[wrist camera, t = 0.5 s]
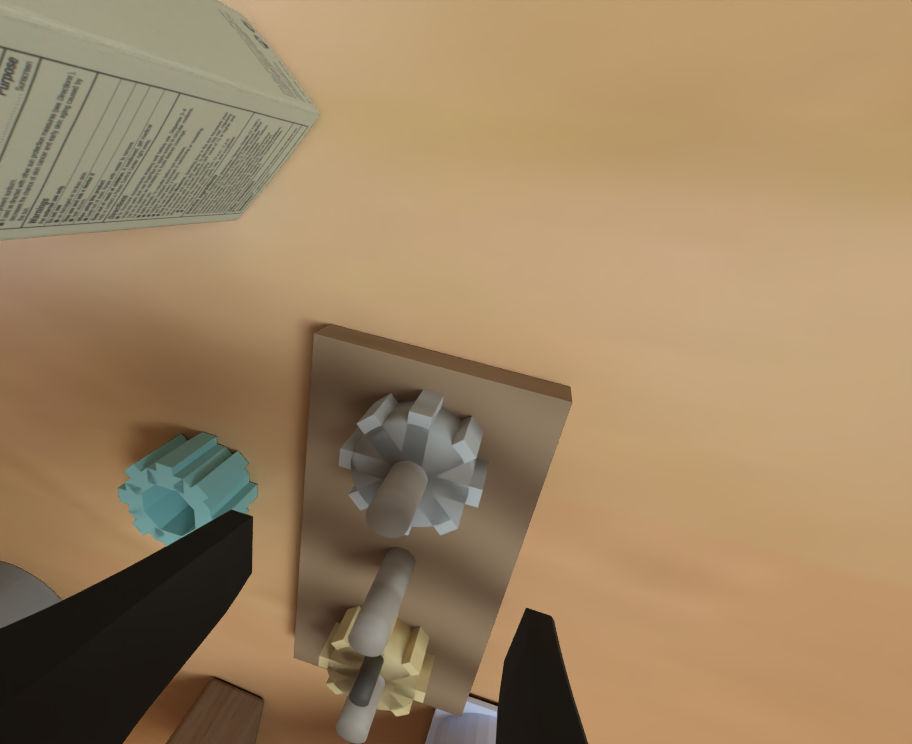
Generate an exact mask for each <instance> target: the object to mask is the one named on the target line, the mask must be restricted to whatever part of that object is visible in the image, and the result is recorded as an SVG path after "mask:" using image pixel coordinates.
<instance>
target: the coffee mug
mask: <svg viewBox="0 0 912 744" xmlns="http://www.w3.org/2000/svg"><path fill="white" fill-rule="evenodd" d="M60 601H62V600H61V599H60V598H59V596H58V595H57V594H56V593H55V592H53V591H52V590H51V589H50V588H49V587H48V586H46V585H45V584H44V583H43V582H42V581H40V580H39V579H37V578H36V577H34V576H33V575H31V574H30V573H28V572H26V571H24V570H22V569H20V568H18V567H16V566H14V565H11V564H8V563H5V562H0V628H2V627H5V626H7V625H9V624H12V623H14V622H16V621H19V620H21V619H23V618H25V617H28V616H30V615H32V614H34V613H37V612H39V611H41V610H43V609H45V608H48V607H50V606H52V605H54V604H56V603H58V602H60Z"/></svg>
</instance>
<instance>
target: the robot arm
mask: <svg viewBox="0 0 912 744" xmlns="http://www.w3.org/2000/svg"><path fill="white" fill-rule="evenodd" d="M252 539H253V516H250V515H247V514H244V513H241V512H238V511H235V510H232V509H231V510H230V511H228V512H226V513H224V514H222V515H220V516H219V517H217V518H215V519H213V520H212V521H210V522H208V523H206V524H205V525H203V526H201V527H199V528H198V529H196V530H194V531H192V532H191V533H189V534H187V535H186V536H184V537H182V538H180V539H178V540H177V541H175V542H173V543H171V544H170V545H168V546H166V547H164V548H163V549H161V550H159V551H157V552H155V553H153V554H152V555H150V556H148V557H146V558H144V559H143V560H141V561H139V562H137V563H135V564H133V565H132V566H130V567H128V568H126V569H124V570H122V571H120V572H118V573H116V574H114V575H112V576H110V577H109V578H107V579H105V580H103V581H101V582H99V583H97V584H95V585H93V586H91V587H89V588H87V589H85V590H83V591H81V592H79V593H77V594H75V595H73V596H71V597H69V598H67V599H65V600H62V601H60V602H58V603H56V604H54V605H52V606H50V607H48V608H45V609H43V610H41V611H39V612H37V613H34V614H32V615H30V616H28V617H25V618H23V619H21V620H19V621H16V622H14V623H12V624H9V625H7V626H5V627H2V628H0V744H123V742H124V741H125V739H126V738H127V737H128V735H129V734H130V732H131V731H132V729H133V728H134V727H135V725H136V724H137V723H138V721H139V720H140V719H141V718H142V716H143V715H144V714H145V712H146V711H147V710H148V708H149V707H150V706H151V704H152V703H153V702H154V701H155V700H156V698H157V697H158V696H159V695H160V693H161V692H162V691H163V690H164V689H165V687H166V686H167V685H168V684H169V682H170V681H171V680H172V679H173V677H174V676H175V675H176V674H177V673H178V671H179V670H180V669H181V668H182V666H183V665H184V664H185V663H186V661H187V660H188V659H189V658H190V657H191V655H192V654H193V653H194V652H195V650H196V649H197V648H198V647H199V646H200V644H201V643H202V642H203V641H204V639H205V638H206V637H207V636H208V634H209V633H210V632H211V631H212V629H213V628H214V627H215V626H216V624H217V623H218V622H219V621H220V619H221V618H222V617H223V616H224V614H225V613H226V612H227V610H228V609H229V607H230V606H231V604H232V603H233V601H234V600H235V598H236V597H237V595H238V594H239V592H240V591H241V589H242V587H243V586H244V584H245V583H246V581H247V579H248V578H249V576H250V575H251V573H252ZM425 744H588V742H587V739H586V735H585V732H584V729H583V726H582V723H581V720H580V716H579V713H578V710H577V707H576V704H575V700H574V697H573V694H572V690H571V687H570V683H569V680H568V676H567V672H566V669H565V665H564V661H563V657H562V653H561V649H560V645H559V641H558V637H557V632H556V628H555V623H554V620H553V618H552V617H551V616H550V615H547V614H544V613H541V612H538V611H535V610H532V609H529V608H526V609H525V612H524V614H523V617H522V619H521V622H520V624H519V626H518V629H517V631H516V634H515V636H514V638H513V641H512V643H511V646H510V648H509V651H508V653H507V655H506V658H505V660H504V667H503V673H502V680H501V687H500V695H499V702H498V706H495V705H492V704H490V703H487V702H484V701H481V700H478V699H475V698H472V697H470V696H468V699H467V702H466V705H465V708H464V710H463V713H462V716H461V717H459V716H456V715H453V714H451V713H448V712H445V711H442V710H439V709H437V708H436V709H435V712H434V715H433V718H432V722H431V725H430V728H429V732H428V735H427V738H426V741H425Z"/></svg>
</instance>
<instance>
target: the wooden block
mask: <svg viewBox="0 0 912 744" xmlns="http://www.w3.org/2000/svg"><path fill="white" fill-rule="evenodd" d="M262 708H263V700H262V699H261V698H259V697H257V696H254V695H252V694H250V693H248V692H245V691H243V690H241V689H239V688H236V687H234V686H232V685H230V684H227V683H225V682H223V681H221V680H218V679H212V680H211V681H210V682H209V683H208V685H207V686H206V687H205V689H204V690H203V692H202V693H201V695H200V696H199V697H198V699H197V700H196V702H195V703H194V704H193V706H192V707H191V709H190V710H189V711H188V713H187V714H186V716H185V717H184V719H183V720H182V721H181V723H180V724H179V726H178V727H177V728H176V730H175V731H174V733H173V734H172V735H171V737H170V738H169V740H168V741H167V743H166V744H255V741H256V737H257V732H258V727H259V722H260V717H261V712H262Z"/></svg>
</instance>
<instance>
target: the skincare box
mask: <svg viewBox="0 0 912 744" xmlns="http://www.w3.org/2000/svg"><path fill="white" fill-rule="evenodd" d="M318 117H319V111H318V109H317V108H316V106H315V105H314V104H313V102H312V101H311V100H310V98H309V97H308V96H307V94H306V93H305V92H304V90H303V89H302V88H301V86H300V85H299V84H298V82H297V81H296V80H295V78H294V77H293V76H292V74H291V73H290V72H289V70H288V69H287V68H286V67H285V65H284V64H283V63H282V61H281V60H280V59H279V57H278V56H277V55H276V54H275V52H274V51H273V50H272V49H271V47H270V46H269V45H268V44H267V42H266V41H265V40H264V39H263V38H262V36H261V35H260V34H259V33H258V32H257V30H256V29H255V28H254V27H253V26H252V24H251V23H250V22H249V21H248V20H247V19H246V18H245V16H243V15H242V14H240V13H238V12H237V11H235V10H233V9H231V8H229V7H227V6H226V5H224V4H222V3H221V2H219V1H217V0H0V240H10V239H22V238H34V237H45V236H57V235H68V234H80V233H92V232H104V231H116V230H126V229H137V228H149V227H161V226H173V225H184V224H196V223H208V222H218V221H231V220H237V219H238V218H239V217H240V216H241V215H242V214H243V212H244V211H245V210H246V209H247V208H248V207H249V206H250V204H251V203H252V202H253V201H254V200H255V199H256V197H257V196H258V195H259V194H260V193H261V191H262V190H263V189H264V188H265V186H266V185H267V184H268V183H269V182H270V180H271V179H272V178H273V176H274V175H275V174H276V173H277V171H278V170H279V169H280V168H281V166H282V165H283V164H284V163H285V161H286V160H287V159H288V157H289V156H290V155H291V153H292V152H293V151H294V150H295V148H296V147H297V146H298V144H299V143H300V142H301V140H302V139H303V138H304V136H305V135H306V134H307V132H308V131H309V130H310V128H311V127H312V125H313V124H314V123H315V122H316V120H317V119H318Z"/></svg>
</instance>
